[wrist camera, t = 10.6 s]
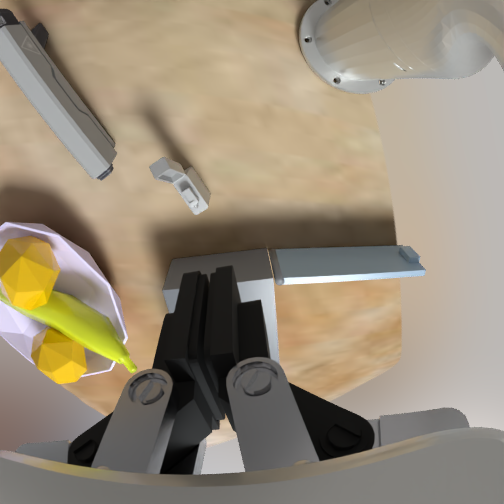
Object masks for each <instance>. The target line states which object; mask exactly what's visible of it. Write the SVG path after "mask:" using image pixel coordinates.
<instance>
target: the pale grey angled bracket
mask: <svg viewBox="0 0 504 504" xmlns="http://www.w3.org/2000/svg"><path fill="white" fill-rule="evenodd" d="M149 168H150V170H151V172H152V174H153V176H154V178H155V179H156V180H160V181H163V182H167V183H171V184H173V183H174V187H175V188H176V189H177V191H178V192H179V194H180V195H181V196H182V198H183V199H184V201H185V202H186V204H187V205H188V206H189V208H190V209H191V211H192V212H193V213H194V215H197V214H199V213H201V212H202V211H204V210H205V209H207V208H208V204H209V200H210V195H211V193H210V192H209V190H208V189H207V188H206V186H205V185H204V183H203V182H202V180H201V179H200V177H199V176H198V174H197V173H196V171H195V170H194V168H193V167H189V168H187V169H186V170H183V168H182V166H181V164H180V163H177V162H175V161H173V160H171V159H168V158H166V157H162V158H160V159H159V160H158V161H156V162H155V163H153V164H152V165H151V166H150V167H149Z"/></svg>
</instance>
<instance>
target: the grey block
mask: <svg viewBox="0 0 504 504" xmlns="http://www.w3.org/2000/svg"><path fill="white" fill-rule="evenodd" d="M229 265H233V268H234V272H235V276H236V281H237V285H238V289H239V294H240V298H241V302H248V301H254V300H260V299H261V302H262V307H263V312H264V318H265V323H266V329H267V335H268V342H269V349H270V356H271V359H272V360H274V361H276V362H277V363H278V364H279V349H278V335H277V321H276V307H275V294H274V281H273V275H272V270H271V266H270V261H269V256H268V252H267V248H263V249H254V250H246V251H237V252H229V253H221V254H212V255H204V256H195V257H187V258H178V259H172V262H171V265H170V268H169V271H168V274H167V277H166V280H165V284H164V287H163V290H162V291H163V294H164V298H165V301H166V304H167V307H168V310H169V313H174V310H175V306H176V301H177V297H178V293H179V289H180V284H181V280H182V276H183V273H188V272H194V271H200V272H201V274H207V276H208V279H209V283H210V274H211V273H214V272H216V268H218V267H224V266H229Z"/></svg>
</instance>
